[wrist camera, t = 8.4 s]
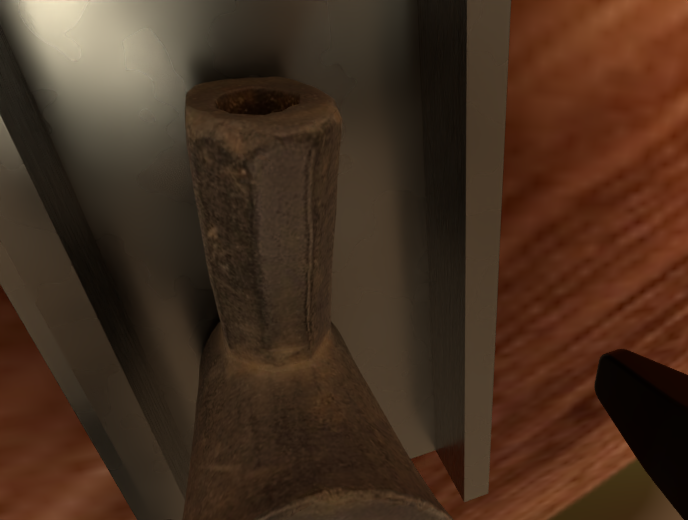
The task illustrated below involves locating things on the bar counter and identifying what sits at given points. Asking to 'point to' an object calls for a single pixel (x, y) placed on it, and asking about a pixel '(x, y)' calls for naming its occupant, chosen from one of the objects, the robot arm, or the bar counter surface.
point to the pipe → (281, 323)
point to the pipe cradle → (183, 221)
